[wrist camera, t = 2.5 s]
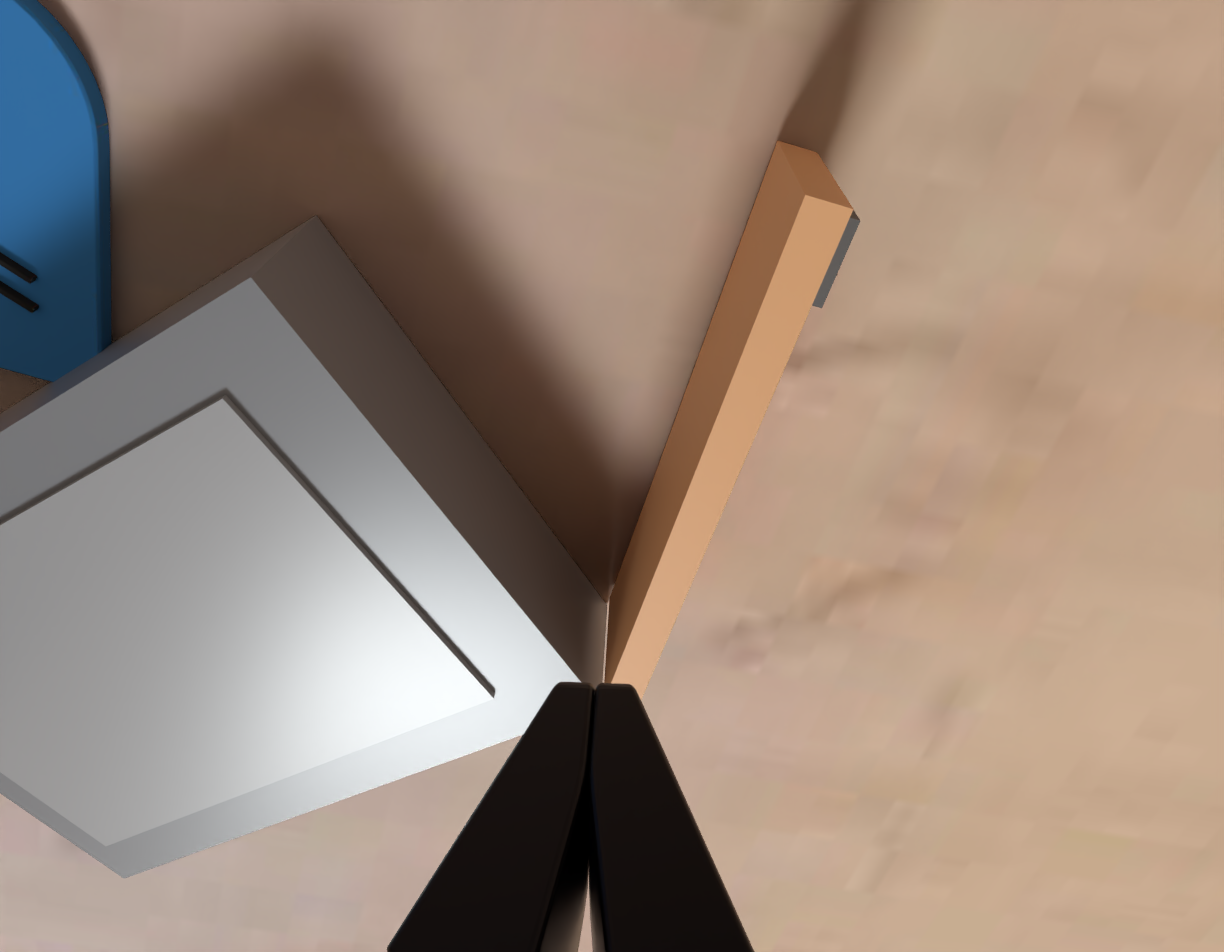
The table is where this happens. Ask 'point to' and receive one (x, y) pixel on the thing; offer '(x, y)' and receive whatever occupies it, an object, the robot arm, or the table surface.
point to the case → (262, 570)
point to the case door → (727, 398)
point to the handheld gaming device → (51, 199)
